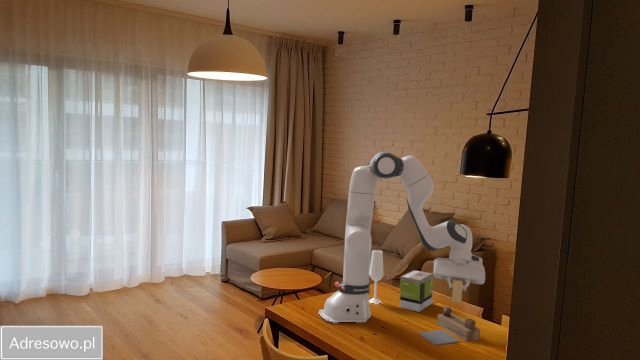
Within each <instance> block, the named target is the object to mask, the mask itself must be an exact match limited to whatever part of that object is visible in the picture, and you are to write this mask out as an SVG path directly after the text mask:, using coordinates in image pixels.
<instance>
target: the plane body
mask: <svg viewBox="0 0 640 360" xmlns="http://www.w3.org/2000/svg"><path fill="white" fill-rule="evenodd" d="M436 318H437V321H436V324H437V326H440V327H441V328H443V329H444V330H447V331H448V332H450V333H451V334H453V335H455V336H457V337H459V338H460V339H462V340H464V341H465V342H469V341H476V340H477V341H478V340H480V339H481V328H479V327H478V326H476V320H475V319H472V318H465V319H462V318H461V317H459V316H457V315H455V314H453V312H452V307H449V306H444V307H443V312H442V313H437V317H436Z"/></svg>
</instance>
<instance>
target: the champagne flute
mask: <svg viewBox="0 0 640 360" xmlns="http://www.w3.org/2000/svg"><path fill="white" fill-rule="evenodd" d="M383 254H384V253H383V250H379V249H378V250H377V249H376V250H375V249H374V250H371V255H370V267H369V278H370V279H372V281H373V282H374V291H373V297H372V298H371V299H370V298H369V302H370V303H369V304H371V303H374V304H373V305H380V304H379V303H381V304H383V302H381V300H380V299H379V298H377V296H378V295H377V293H378V291H377V290H378V282H379V281H381V279H383V278H384V258H383Z"/></svg>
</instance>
